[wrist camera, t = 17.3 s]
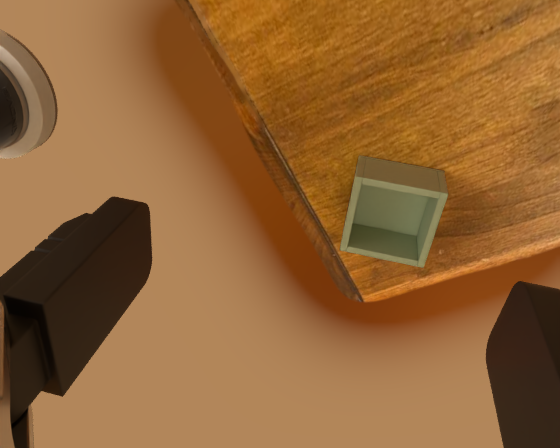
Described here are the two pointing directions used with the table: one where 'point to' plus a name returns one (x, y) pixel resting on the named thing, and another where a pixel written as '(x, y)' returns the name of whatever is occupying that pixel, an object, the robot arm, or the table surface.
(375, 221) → the caddy
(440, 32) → the table surface
